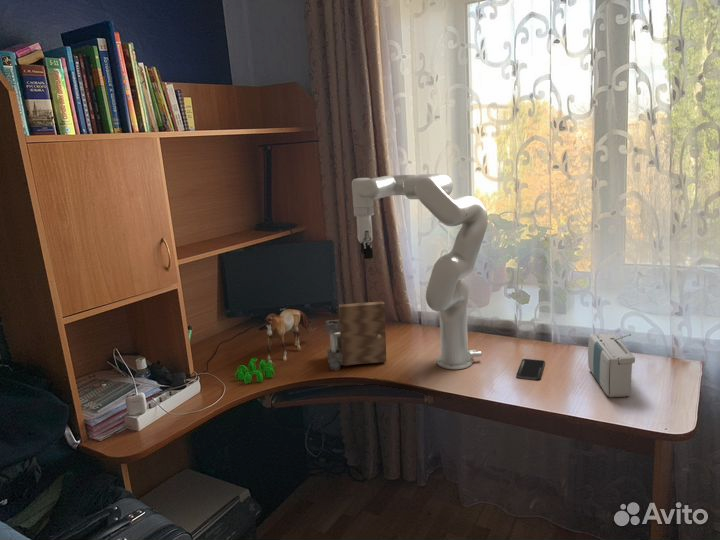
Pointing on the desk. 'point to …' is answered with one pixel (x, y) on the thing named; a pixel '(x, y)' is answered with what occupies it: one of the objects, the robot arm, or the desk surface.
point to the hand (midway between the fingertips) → (367, 255)
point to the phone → (530, 369)
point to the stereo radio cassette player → (610, 364)
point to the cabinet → (335, 344)
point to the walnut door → (359, 333)
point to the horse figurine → (285, 327)
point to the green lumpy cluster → (255, 371)
